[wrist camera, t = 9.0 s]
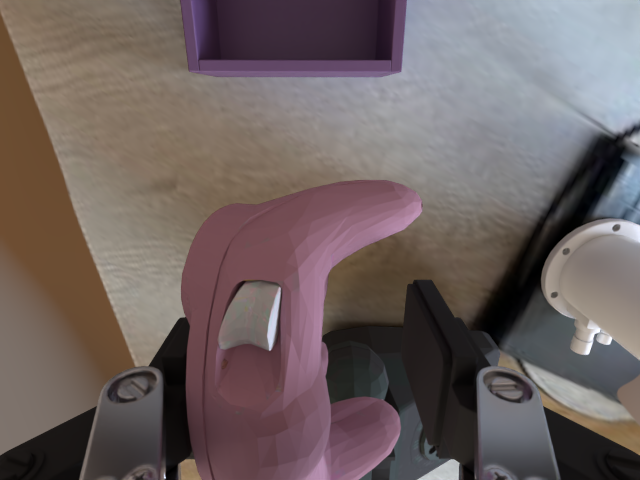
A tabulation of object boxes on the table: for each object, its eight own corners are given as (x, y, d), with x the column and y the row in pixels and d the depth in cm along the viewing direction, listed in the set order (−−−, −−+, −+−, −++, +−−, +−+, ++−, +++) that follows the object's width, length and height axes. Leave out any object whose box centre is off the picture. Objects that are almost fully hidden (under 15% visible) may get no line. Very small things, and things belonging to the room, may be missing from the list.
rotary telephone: (456, 484, 56) (503, 613, 42) (315, 487, 56) (316, 618, 42) (493, 293, 44) (578, 387, 30) (313, 296, 43) (313, 391, 29)
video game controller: (295, 161, 12) (100, 221, 7) (432, 172, 10) (330, 268, 5) (302, 388, 16) (181, 556, 10) (405, 426, 14) (329, 661, 8)
